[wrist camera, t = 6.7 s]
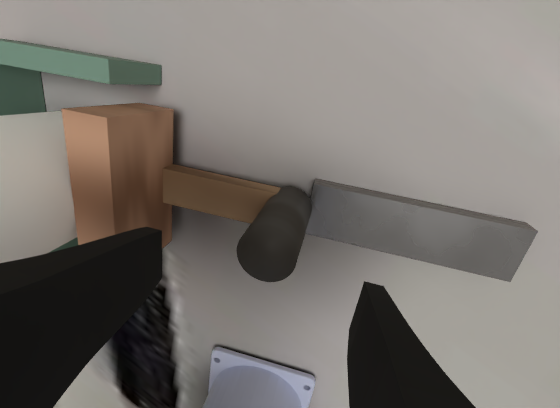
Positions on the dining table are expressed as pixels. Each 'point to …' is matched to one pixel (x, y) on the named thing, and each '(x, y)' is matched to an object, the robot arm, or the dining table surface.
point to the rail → (419, 229)
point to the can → (34, 186)
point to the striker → (171, 187)
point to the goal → (34, 58)
